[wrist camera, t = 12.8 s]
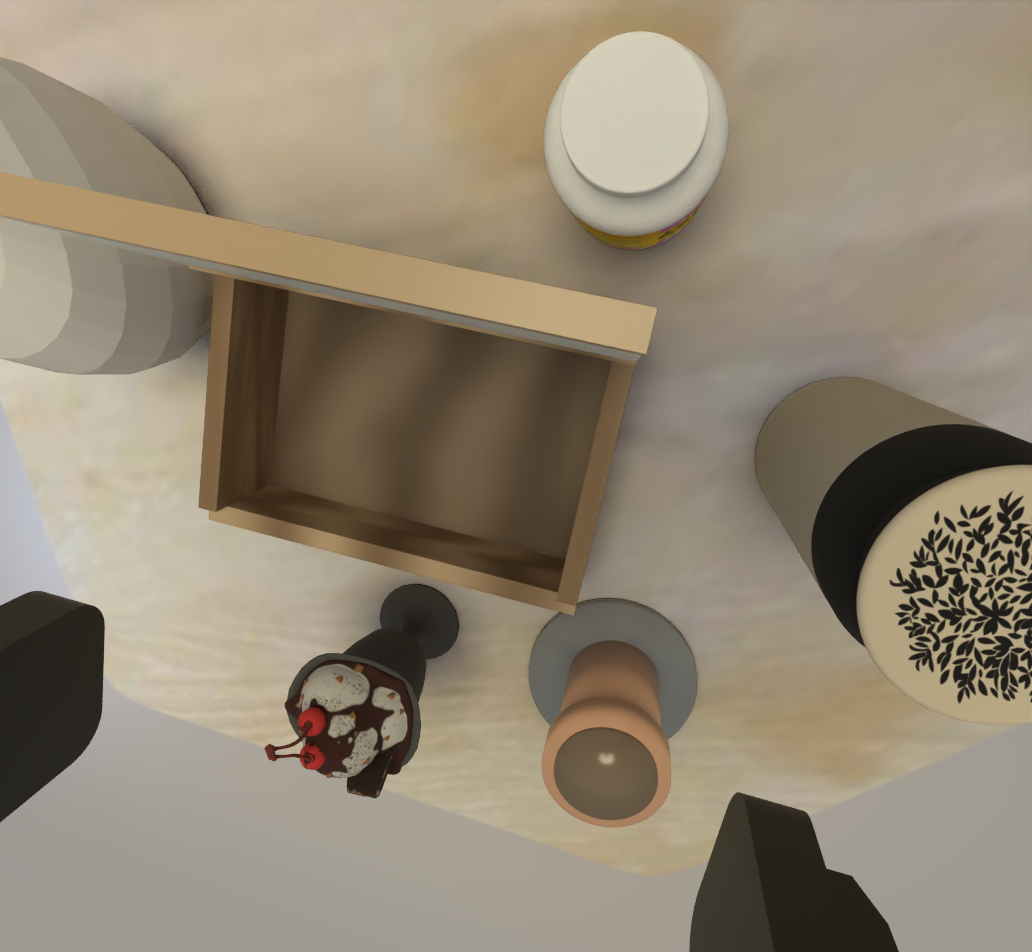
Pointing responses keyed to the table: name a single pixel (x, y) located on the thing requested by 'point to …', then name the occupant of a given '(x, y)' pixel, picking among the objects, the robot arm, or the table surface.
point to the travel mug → (912, 538)
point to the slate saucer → (619, 625)
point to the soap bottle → (89, 241)
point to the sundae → (370, 693)
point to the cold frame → (408, 439)
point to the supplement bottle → (636, 139)
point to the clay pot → (609, 738)
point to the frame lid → (336, 268)
